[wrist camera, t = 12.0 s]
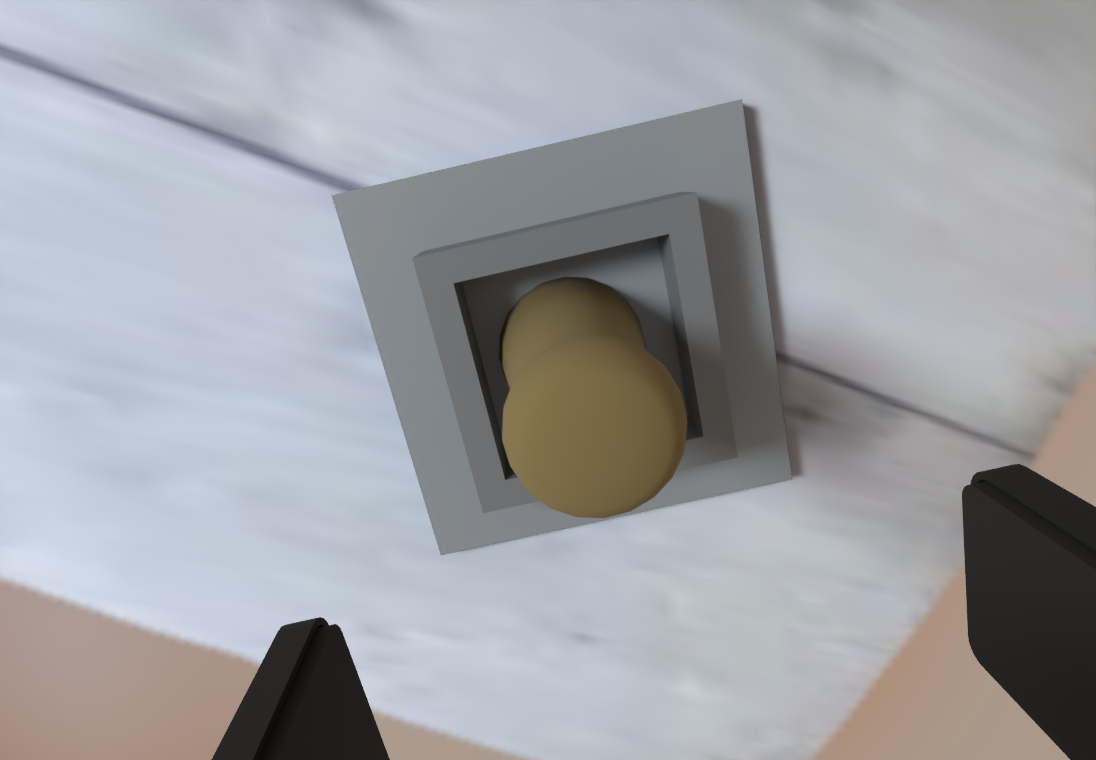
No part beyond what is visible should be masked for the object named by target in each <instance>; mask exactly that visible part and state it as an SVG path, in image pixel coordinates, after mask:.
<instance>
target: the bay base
mask: <svg viewBox="0 0 1096 760" xmlns="http://www.w3.org/2000/svg"><path fill="white" fill-rule="evenodd" d="M332 198H333V201H334V204H335V208H336V211H337V214H338V218H339V221H340V224H341V228H342V231H343V234H344V237H345V241H346V244H347V247H348V251H349V254H350V257H351V260H352V264H353V267H354V270H355V274H356V277H357V280H358V284H359V287H360V290H361V293H362V297H363V300H364V303H365V307H366V310H367V313H368V316H369V320H370V323H371V326H372V330H373V333H374V336H375V340H376V343H377V346H378V349H379V353H380V356H381V359H382V363H383V366H384V369H385V373H386V376H387V379H388V382H389V386H390V389H391V392H392V396H393V399H394V402H395V405H396V409H397V412H398V415H399V419H400V422H401V425H402V429H403V432H404V435H405V438H406V442H407V445H408V448H409V452H410V455H411V458H412V461H413V465H414V468H415V471H416V475H417V478H418V481H419V485H420V488H421V491H422V494H423V498H424V501H425V504H426V508H427V511H428V514H429V518H430V521H431V524H432V527H433V531H434V534H435V537H436V541H437V544H438V547H439V550H440V554H441V555H445V554H450V553H454V552H459V551H464V550H468V549H473V548H477V547H482V546H487V545H491V544H496V543H500V542H505V541H510V540H514V539H519V538H523V537H528V536H533V535H537V534H542V533H546V532H551V531H556V530H560V529H565V528H569V527H574V526H579V525H583V524H588V523H592V522H597V521H602V520H606V519H611V518H615V517H620V516H625V515H629V514H634V513H638V512H643V511H648V510H652V509H657V508H661V507H666V506H671V505H675V504H680V503H684V502H689V501H694V500H698V499H703V498H707V497H712V496H717V495H721V494H726V493H730V492H735V491H740V490H744V489H749V488H753V487H758V486H763V485H767V484H772V483H776V482H781V481H786V480H790V479H792V476H791V468H790V460H789V453H788V445H787V438H786V430H785V422H784V415H783V407H782V400H781V392H780V384H779V377H778V369H777V362H776V354H775V346H774V339H773V331H772V324H771V316H770V308H769V301H768V293H767V286H766V278H765V270H764V263H763V255H762V247H761V240H760V232H759V225H758V217H757V209H756V202H755V194H754V187H753V179H752V171H751V164H750V156H749V149H748V141H747V133H746V126H745V118H744V111H743V103H742V100H738V101H733V102H729V103H725V104H720V105H716V106H712V107H708V108H703V109H699V110H695V111H691V112H686V113H682V114H678V115H674V116H669V117H665V118H661V119H656V120H652V121H648V122H644V123H639V124H635V125H631V126H627V127H622V128H618V129H614V130H610V131H605V132H601V133H597V134H592V135H588V136H584V137H580V138H575V139H571V140H567V141H563V142H558V143H554V144H550V145H546V146H541V147H537V148H533V149H528V150H524V151H520V152H516V153H511V154H507V155H503V156H499V157H494V158H490V159H486V160H482V161H477V162H473V163H469V164H464V165H460V166H456V167H452V168H447V169H443V170H439V171H435V172H430V173H426V174H422V175H418V176H413V177H409V178H405V179H400V180H396V181H392V182H388V183H383V184H379V185H375V186H371V187H366V188H362V189H358V190H354V191H349V192H345V193H341V194H336V195H332ZM561 277H584V278H590V279H593V280H595V281H598V282H601V283H603V284H606V285H608V286H610V287H612V288H613V289H614V290H615V291H616V292H618V293H619V294H620V295H621V296H623V297H624V298H625V299H626V300H627V301H628V302H629V304H630V305H631V307H632V309H633V310H634V312H635V313H636V315H637V317H638V318H639V320H640V325H641V329H642V333H643V337H644V342H645V347H646V351H647V352H649V353H650V354H651V355H652V356H654V357H655V358H656V359H657V360H658V361H660V362H661V363H662V364H663V365H664V366H665V367H666V369H667V370H668V372H669V373H670V375H671V377H672V378H673V380H674V381H675V383H676V385H677V386H678V388H679V389H680V391H681V393H682V398H683V402H684V407H685V411H686V416H687V432H686V441H685V449H684V454H683V456H682V458H681V461H680V463H679V465H678V467H677V469H676V471H675V473H674V476H673V478H672V479H671V480H670V481H669V482H668V483H667V484H666V485H665V486H664V487H663V488H662V490H661V491H660V492H659V493H658V494H657V495H656V496H655V497H654V498H652V499H651V500H649V501H647V502H646V503H644V504H642V505H641V506H639V507H637V508H636V509H634V510H632V511H630V512H626V513H622V514H619V515H615V516H611V517H607V518H581V517H574V516H571V515H568V514H565V513H562V512H559V511H556V510H553V509H551V508H549V507H548V506H547V505H545V504H544V503H542V502H541V501H540V500H538V499H537V498H535V497H534V496H533V495H531V494H530V493H529V492H528V490H527V489H526V488H525V486H524V485H523V484H522V482H521V481H520V479H519V478H518V477H517V475H516V474H515V473H514V471H513V470H512V468H511V466H510V464H509V461H508V457H507V454H506V451H505V448H504V445H503V441H502V427H503V409H504V404H505V402H506V399H507V396H508V394H509V391H510V389H509V386H508V384H507V381H506V379H505V376H504V372H503V369H502V366H501V362H500V359H499V345H500V333H501V331H502V328H503V325H504V323H505V320H506V317H507V314H508V313H509V312H510V310H511V309H512V308H513V307H514V305H515V304H516V303H517V302H518V300H519V299H520V298H521V297H522V296H523V295H524V294H526V293H527V292H529V291H530V290H532V289H533V288H535V287H536V286H538V285H539V284H541V283H543V282H547V281H550V280H554V279H558V278H561Z"/></svg>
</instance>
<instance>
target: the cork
mask: <svg viewBox="0 0 1096 760" xmlns="http://www.w3.org/2000/svg"><path fill="white" fill-rule="evenodd" d="M499 359H500V362H501V366H502V369H503V372H504V376H505V379H506V381H507V384H508V386H509V389H510V391H509V394H508V396H507V399H506V402H505V404H504V409H503V427H502V441H503V445H504V448H505V451H506V454H507V457H508V461H509V464H510V466H511V468H512V470H513V471H514V473H515V474H516V475H517V477H518V478H519V479H520V481H521V482H522V484H523V485H524V486H525V488H526V489H527V490H528V492H529V493H530V494H531V495H533V496H534V497H535V498H537V499H538V500H540V501H541V502H542V503H544V504H545V505H547V506H548V507H549V508H551V509H553V510H556V511H559V512H562V513H565V514H568V515H571V516H574V517H581V518H607V517H611V516H615V515H619V514H622V513H626V512H630V511H632V510H634V509H636V508H637V507H639V506H641V505H642V504H644V503H646V502H647V501H649V500H651V499H652V498H654V497H655V496H656V495H657V494H658V493H659V492H660V491H661V490H662V488H663V487H664V486H665V485H666V484H667V483H668V482H669V481H670V480H671V479H672V478H673V476H674V473H675V471H676V469H677V467H678V465H679V463H680V461H681V458H682V456H683V454H684V449H685V441H686V432H687V416H686V411H685V407H684V402H683V398H682V393H681V391H680V389H679V388H678V386H677V385H676V383H675V381H674V380H673V378H672V377H671V375H670V373H669V372H668V370H667V369H666V367H665V366H664V365H663V364H662V363H661V362H660V361H658V360H657V359H656V358H655V357H654V356H652V355H651V354H650V353H649V352H647V351H646V347H645V342H644V337H643V333H642V329H641V325H640V320H639V318H638V317H637V315H636V313H635V312H634V310H633V309H632V307H631V305H630V304H629V302H628V301H627V300H626V299H625V298H624V297H623V296H621V295H620V294H619V293H618V292H616V291H615V290H614V289H613V288H612V287H610V286H608V285H606V284H603V283H601V282H598V281H595V280H593V279H590V278H584V277H561V278H558V279H554V280H550V281H547V282H543V283H541V284H539V285H538V286H536V287H535V288H533V289H532V290H530V291H529V292H527V293H526V294H524V295H523V296H522V297H521V298H520V299H519V300H518V302H517V303H516V304H515V305H514V307H513V308H512V309H511V310H510V312H509V313H508V314H507V317H506V320H505V323H504V325H503V328H502V331H501V333H500V345H499Z"/></svg>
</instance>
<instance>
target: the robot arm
mask: <svg viewBox="0 0 1096 760" xmlns="http://www.w3.org/2000/svg"><path fill="white" fill-rule="evenodd" d="M962 506H963V529H964V551H965V574H966V596H967V620H968V637H969V643H970V646H971V649H972V651H973V653H974V655H975V657H976V658H977V660H978V661H979V663H980V664H981V665H982V666H983V667H984V668H985V670H986V671H988V673H989V674H990V675H991V676H992V677H993V678H994V679H995V680H996V681H997V682H998V683H999V684H1000V685H1001V686H1002V688H1003V689H1004V690H1005V691H1006V692H1007V693H1008V694H1009V695H1010V696H1011V697H1012V698H1013V699H1014V700H1015V701H1016V702H1017V703H1018V704H1019V706H1021V708H1022V709H1023V710H1024V711H1025V712H1026V713H1027V714H1028V715H1029V716H1030V717H1031V718H1032V719H1033V720H1034V721H1035V723H1036V724H1037V725H1038V726H1039V727H1040V728H1041V729H1042V730H1043V731H1044V732H1045V733H1046V734H1047V735H1048V736H1049V737H1050V738H1051V739H1052V740H1053V741H1054V743H1055V744H1056V745H1057V746H1058V747H1059V748H1060V749H1061V750H1062V751H1063V752H1064V753H1065V754H1066V755H1067V756H1068V758H1070V760H1096V507H1094V506H1093V505H1091V504H1089V503H1088V502H1086V501H1084V500H1082V499H1081V498H1079V497H1077V496H1076V495H1074V494H1072V493H1070V492H1069V491H1067V490H1065V489H1063V488H1061V487H1060V486H1058V485H1056V484H1055V483H1053V482H1051V481H1050V480H1048V479H1046V478H1044V477H1043V476H1041V475H1039V474H1038V473H1036V472H1034V471H1032V470H1031V469H1029V468H1027V467H1025V466H1023V465H1020V464H1015V465H1010V466H1005V467H1000V468H996V469H991V470H987V471H982V472H978V473H976V474H975V475H974V476H973V478H972V480H971V485H967V486H965V487H964V489H963V492H962ZM212 760H390V759H389V757H388V754H387V751H386V749H385V746H384V744H383V741H382V738H381V735H380V733H379V730H378V727H377V725H376V722H375V719H374V716H373V714H372V711H371V708H370V706H369V703H368V700H367V698H366V695H365V692H364V690H363V687H362V684H361V681H360V679H359V676H358V673H357V671H356V668H355V665H354V663H353V660H352V657H351V655H350V652H349V649H348V647H347V644H346V641H345V638H344V636H343V633H342V631H341V629H340V627H339V626H338V625H336V624H334V625H328V623H327V621H326V620H325V619H324V618H321V617H319V618H315V619H310V620H306V621H301V622H297V623H292V624H288V625H284V626H282V627H281V628H280V630H279V631H278V633H277V635H276V637H275V638H274V640H273V642H272V644H271V646H270V648H269V650H268V652H267V654H266V656H265V658H264V660H263V662H262V664H261V665H260V667H259V669H258V672H257V673H256V675H255V677H254V679H253V681H252V683H251V685H250V687H249V689H248V691H247V692H246V694H245V696H244V698H243V700H242V702H241V704H240V706H239V708H238V710H237V712H236V714H235V716H234V718H233V720H232V722H231V723H230V725H229V727H228V729H227V731H226V733H225V735H224V737H223V739H222V741H221V743H220V745H219V747H218V748H217V751H216V752H215V754H214V756H213V758H212Z"/></svg>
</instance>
